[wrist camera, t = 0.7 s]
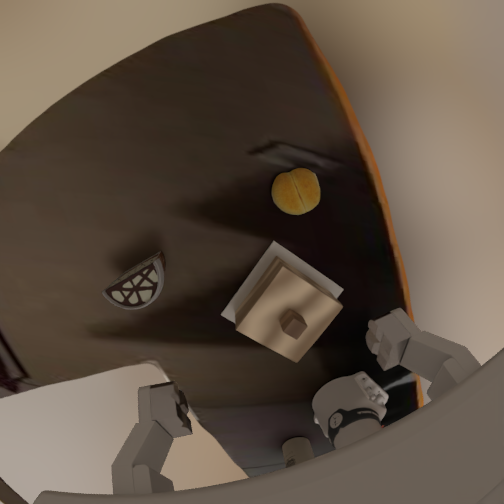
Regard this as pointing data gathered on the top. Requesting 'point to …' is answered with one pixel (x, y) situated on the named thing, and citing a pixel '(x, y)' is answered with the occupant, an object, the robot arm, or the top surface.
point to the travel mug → (297, 451)
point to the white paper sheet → (263, 265)
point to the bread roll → (296, 191)
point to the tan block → (286, 310)
